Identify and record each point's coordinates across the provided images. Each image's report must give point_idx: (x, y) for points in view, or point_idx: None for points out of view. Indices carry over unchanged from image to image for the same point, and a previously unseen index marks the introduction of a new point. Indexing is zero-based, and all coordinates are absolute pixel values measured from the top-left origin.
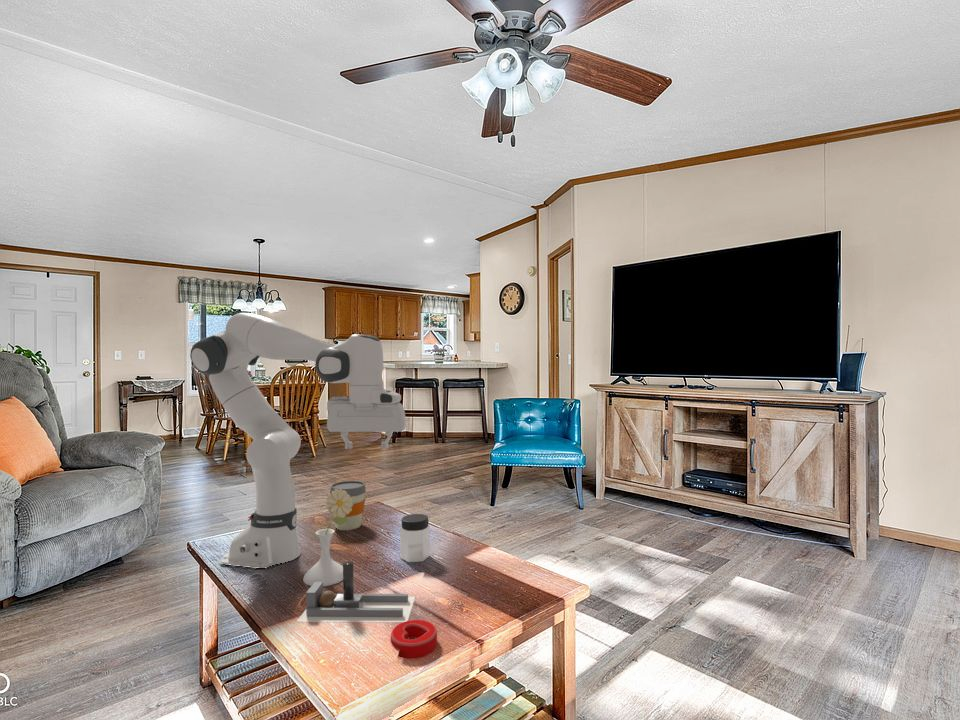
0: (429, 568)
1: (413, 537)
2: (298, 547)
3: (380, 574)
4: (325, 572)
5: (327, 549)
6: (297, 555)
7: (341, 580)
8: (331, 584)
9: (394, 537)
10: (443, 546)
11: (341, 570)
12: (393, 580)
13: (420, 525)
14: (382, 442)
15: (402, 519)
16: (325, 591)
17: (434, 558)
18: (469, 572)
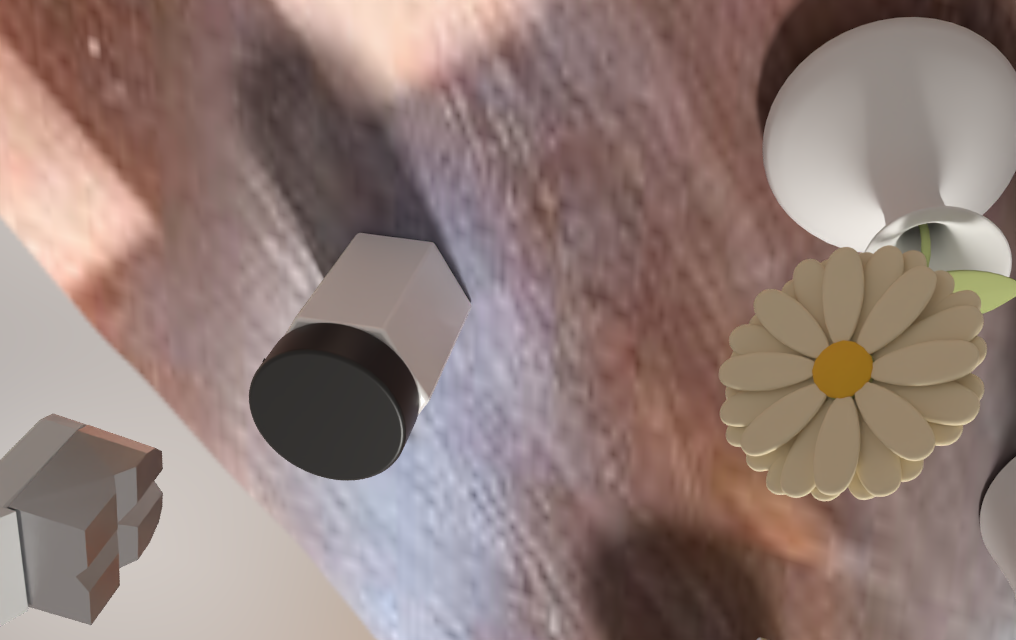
0: (326, 145)
1: (363, 304)
2: (1004, 521)
3: (579, 146)
4: (906, 84)
5: (902, 193)
6: (1008, 472)
7: (802, 62)
8: (865, 25)
9: (498, 530)
10: None
11: (800, 122)
12: (512, 53)
13: (298, 339)
14: (61, 530)
15: (399, 418)
16: None
17: (304, 251)
18: (125, 40)
